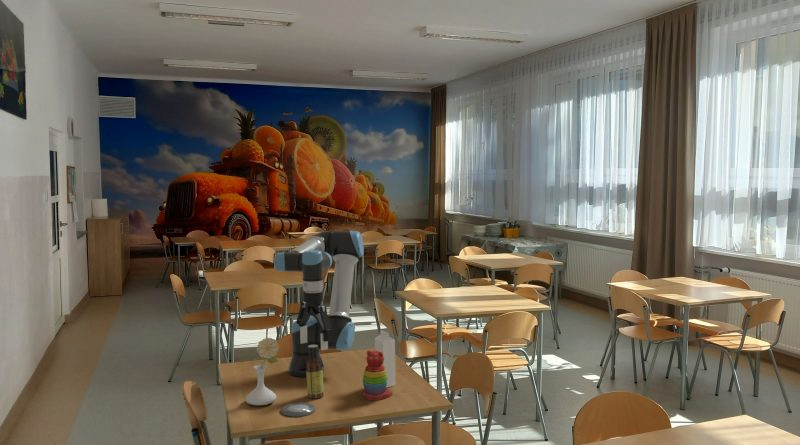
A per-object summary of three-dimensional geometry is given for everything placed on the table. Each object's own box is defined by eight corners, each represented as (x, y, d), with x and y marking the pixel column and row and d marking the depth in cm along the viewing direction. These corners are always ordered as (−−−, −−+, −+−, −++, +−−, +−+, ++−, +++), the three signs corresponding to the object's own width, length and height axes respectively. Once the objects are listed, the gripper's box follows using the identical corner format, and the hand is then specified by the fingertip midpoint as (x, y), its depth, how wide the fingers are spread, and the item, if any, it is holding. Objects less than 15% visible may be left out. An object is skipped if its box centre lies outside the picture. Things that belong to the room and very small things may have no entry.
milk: (383, 388, 254) (382, 334, 252) (374, 384, 259) (373, 331, 257) (395, 385, 258) (395, 331, 256) (387, 381, 263) (386, 328, 261)
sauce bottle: (326, 394, 248) (325, 344, 246) (319, 400, 242) (318, 348, 241) (311, 392, 250) (310, 343, 249) (303, 398, 244) (302, 347, 243)
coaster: (275, 410, 232) (275, 408, 232) (302, 402, 240) (302, 399, 240) (293, 419, 223) (293, 417, 223) (321, 410, 231) (321, 408, 231)
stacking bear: (394, 394, 248) (393, 349, 247) (382, 402, 239) (381, 355, 238) (369, 390, 253) (369, 345, 251) (357, 398, 244) (356, 352, 242)
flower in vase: (241, 408, 235) (239, 341, 233) (250, 397, 246) (248, 333, 244) (276, 408, 234) (275, 341, 232) (284, 397, 245) (282, 333, 243)
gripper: (286, 288, 250) (287, 341, 251) (324, 296, 231) (325, 354, 233) (302, 286, 255) (303, 338, 256) (340, 294, 236) (341, 350, 238)
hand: (313, 346), depth 244 cm, fingers open, 13 cm apart
